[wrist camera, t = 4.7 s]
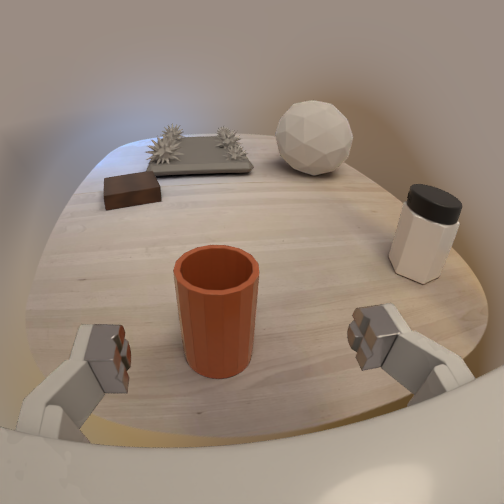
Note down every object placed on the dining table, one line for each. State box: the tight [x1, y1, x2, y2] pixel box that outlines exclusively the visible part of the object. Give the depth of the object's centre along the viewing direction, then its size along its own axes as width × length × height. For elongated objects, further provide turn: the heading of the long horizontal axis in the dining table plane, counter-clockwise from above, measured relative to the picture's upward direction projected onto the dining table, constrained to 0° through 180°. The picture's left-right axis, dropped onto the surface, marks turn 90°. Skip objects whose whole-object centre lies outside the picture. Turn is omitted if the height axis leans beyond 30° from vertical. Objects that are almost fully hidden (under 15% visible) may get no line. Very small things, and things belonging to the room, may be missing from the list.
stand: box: [104, 171, 161, 210], centre depth 59 cm, size 11×11×3 cm
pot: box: [173, 245, 259, 379], centre depth 26 cm, size 6×6×10 cm
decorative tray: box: [146, 124, 254, 176], centre depth 81 cm, size 35×26×10 cm
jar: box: [388, 184, 462, 284], centre depth 40 cm, size 9×8×12 cm
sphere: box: [275, 100, 353, 176], centre depth 74 cm, size 19×20×20 cm
